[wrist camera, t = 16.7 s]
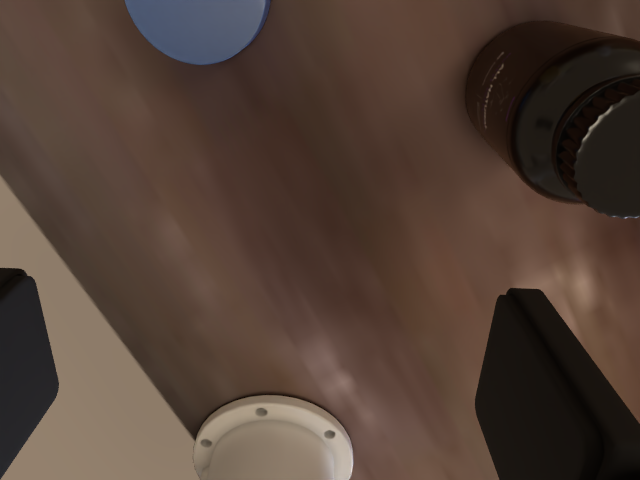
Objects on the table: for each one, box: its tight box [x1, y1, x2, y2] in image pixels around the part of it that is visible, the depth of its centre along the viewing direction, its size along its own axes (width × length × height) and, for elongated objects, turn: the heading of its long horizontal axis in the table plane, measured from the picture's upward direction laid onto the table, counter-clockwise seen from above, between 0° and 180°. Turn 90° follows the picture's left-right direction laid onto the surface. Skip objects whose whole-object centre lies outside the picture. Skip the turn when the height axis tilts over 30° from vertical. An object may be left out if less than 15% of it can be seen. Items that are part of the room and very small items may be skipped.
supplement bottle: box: [466, 21, 640, 219], centre depth 23 cm, size 7×7×12 cm
